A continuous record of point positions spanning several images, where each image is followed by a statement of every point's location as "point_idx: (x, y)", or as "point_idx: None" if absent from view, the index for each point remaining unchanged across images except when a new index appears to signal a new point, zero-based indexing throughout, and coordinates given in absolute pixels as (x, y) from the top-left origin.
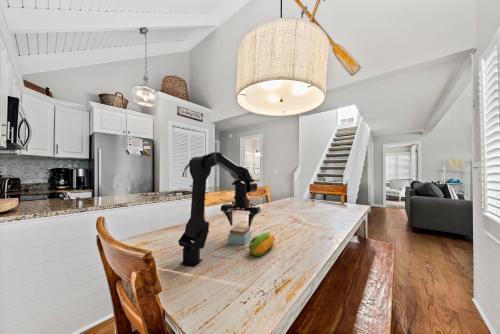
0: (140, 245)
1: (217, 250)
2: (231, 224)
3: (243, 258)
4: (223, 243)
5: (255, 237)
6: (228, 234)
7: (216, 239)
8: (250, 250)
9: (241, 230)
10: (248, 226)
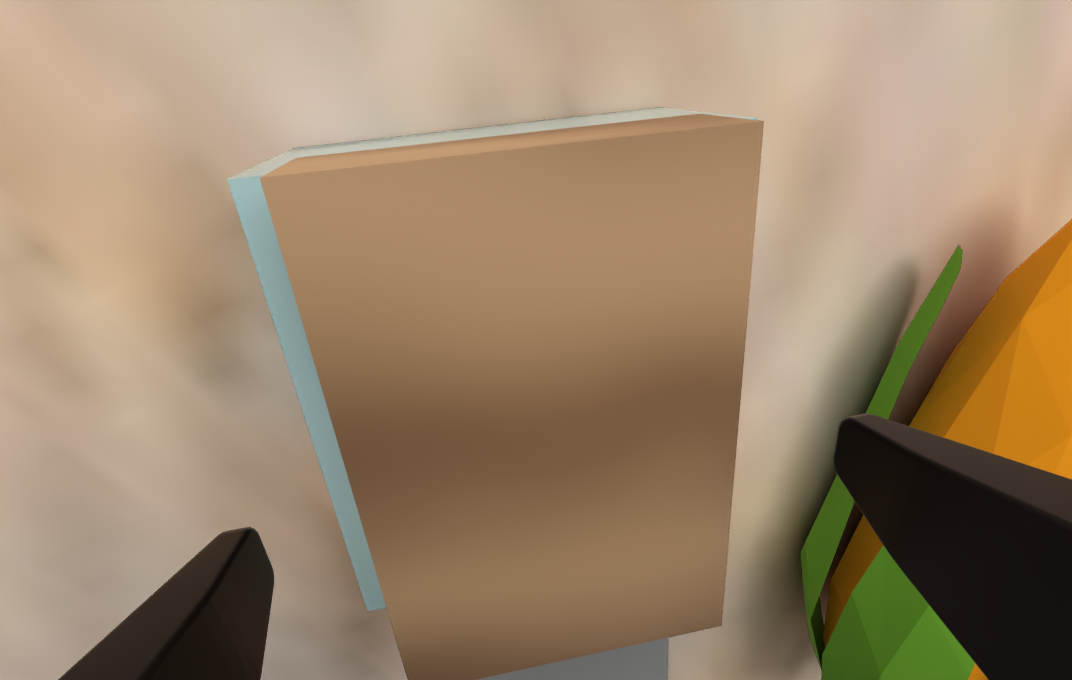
0: None
1: (396, 664)
2: (265, 616)
3: (734, 651)
4: (303, 491)
5: (955, 640)
6: (377, 605)
7: (37, 416)
8: (807, 614)
9: (657, 574)
10: (726, 180)
